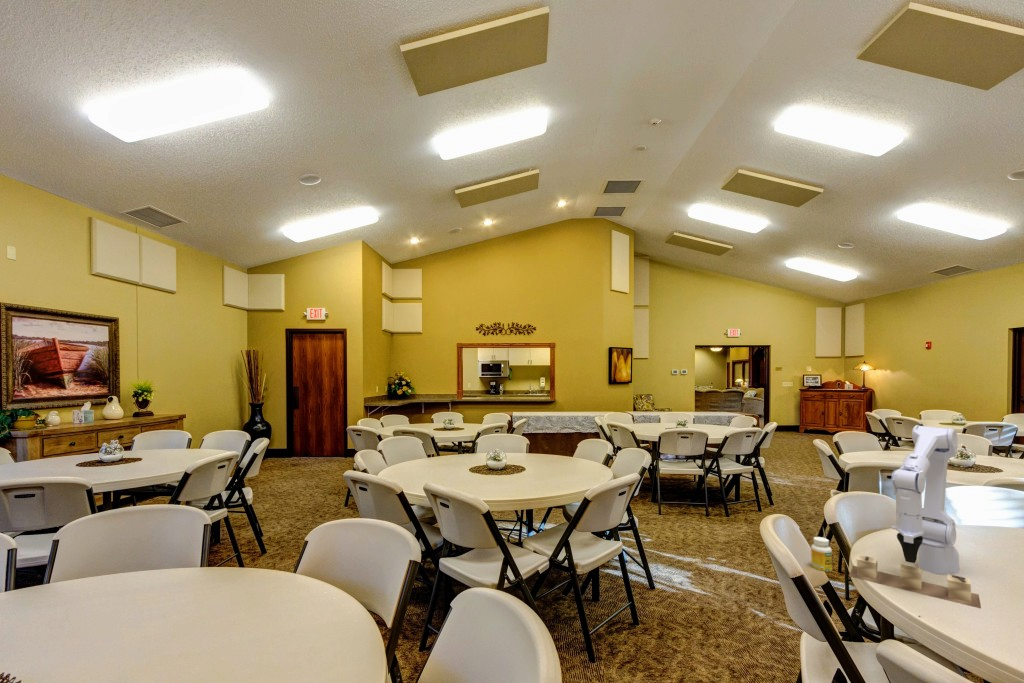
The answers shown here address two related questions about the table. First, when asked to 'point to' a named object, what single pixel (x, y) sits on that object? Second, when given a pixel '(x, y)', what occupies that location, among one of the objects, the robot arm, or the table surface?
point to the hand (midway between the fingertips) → (910, 561)
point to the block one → (867, 566)
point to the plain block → (910, 577)
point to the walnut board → (925, 590)
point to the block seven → (959, 588)
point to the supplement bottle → (821, 554)
